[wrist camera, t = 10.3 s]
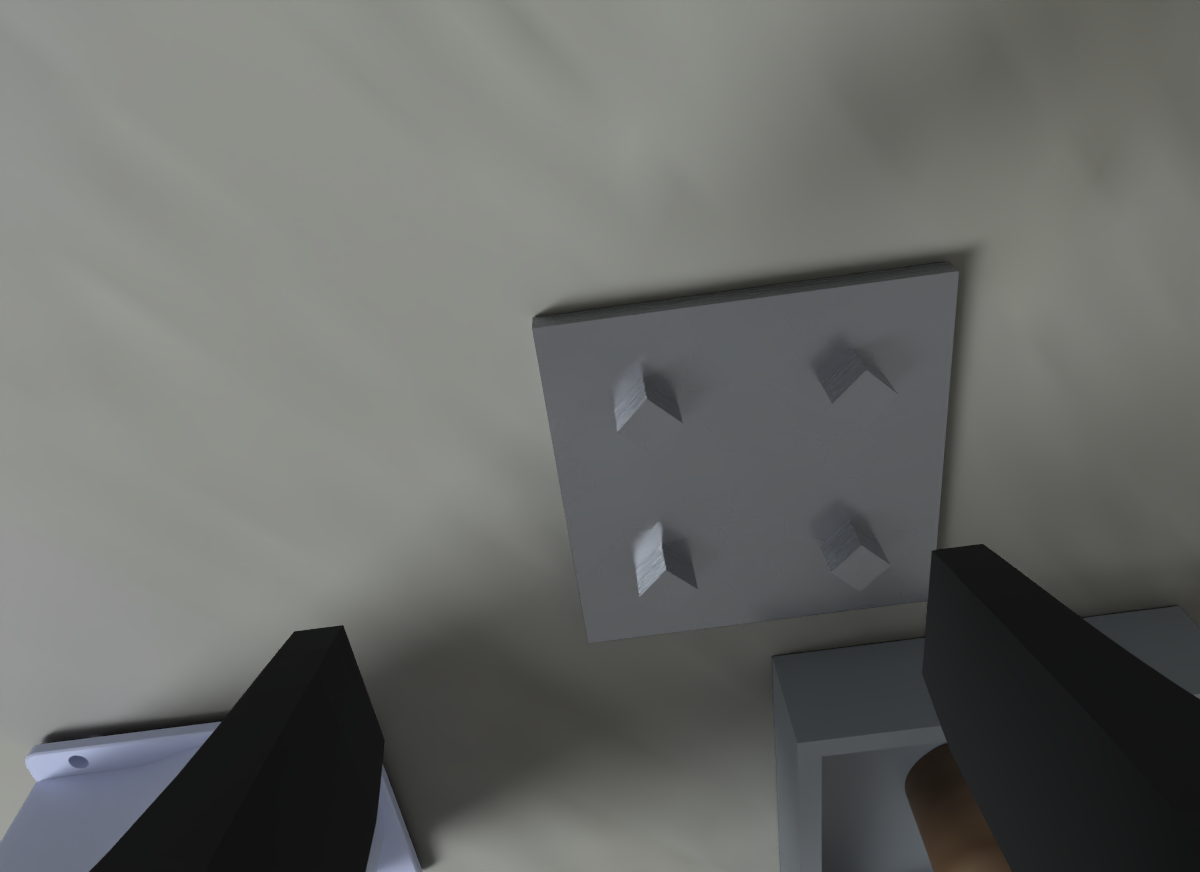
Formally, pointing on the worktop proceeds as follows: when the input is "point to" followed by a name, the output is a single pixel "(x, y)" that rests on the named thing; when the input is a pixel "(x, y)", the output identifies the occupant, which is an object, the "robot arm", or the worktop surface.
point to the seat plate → (752, 448)
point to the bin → (895, 740)
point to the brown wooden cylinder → (950, 817)
